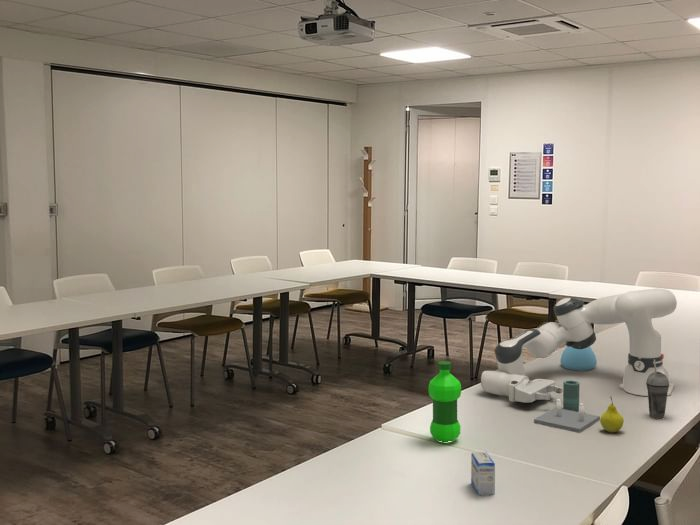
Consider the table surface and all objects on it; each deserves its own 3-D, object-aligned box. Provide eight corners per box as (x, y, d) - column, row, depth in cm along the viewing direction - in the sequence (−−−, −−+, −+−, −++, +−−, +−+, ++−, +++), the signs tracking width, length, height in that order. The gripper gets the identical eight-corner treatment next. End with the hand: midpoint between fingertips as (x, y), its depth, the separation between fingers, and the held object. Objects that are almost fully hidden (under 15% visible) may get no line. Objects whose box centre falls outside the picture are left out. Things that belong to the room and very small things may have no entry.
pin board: (555, 410, 253) (555, 390, 252) (599, 419, 242) (600, 399, 241) (533, 422, 241) (534, 401, 240) (579, 432, 230) (580, 410, 230)
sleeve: (567, 407, 257) (567, 379, 256) (580, 409, 253) (581, 382, 252) (561, 410, 253) (561, 382, 252) (574, 413, 250) (575, 385, 249)
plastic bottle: (441, 448, 219) (440, 368, 217) (422, 438, 229) (421, 361, 226) (468, 442, 224) (467, 364, 221) (448, 432, 233) (448, 357, 231)
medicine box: (470, 483, 194) (470, 452, 193) (487, 482, 194) (487, 451, 193) (478, 495, 186) (478, 463, 185) (495, 494, 186) (495, 462, 185)
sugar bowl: (558, 370, 307) (558, 343, 306) (562, 361, 321) (562, 336, 320) (595, 372, 302) (595, 345, 301) (597, 364, 316) (598, 338, 314)
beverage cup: (670, 421, 239) (672, 362, 237) (647, 420, 241) (648, 361, 238) (665, 414, 246) (667, 357, 244) (643, 413, 248) (644, 356, 246)
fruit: (606, 426, 235) (607, 391, 234) (627, 431, 231) (627, 395, 229) (596, 432, 231) (597, 395, 229) (617, 437, 226) (618, 399, 224)
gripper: (533, 389, 273) (568, 395, 264) (507, 402, 258) (543, 409, 249) (533, 372, 272) (568, 378, 263) (507, 385, 257) (543, 392, 248)
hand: (555, 394), depth 256 cm, fingers open, 8 cm apart
